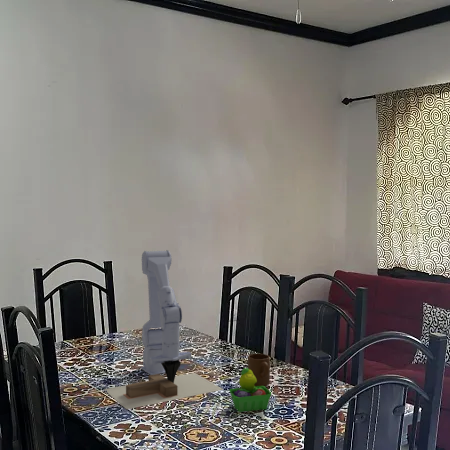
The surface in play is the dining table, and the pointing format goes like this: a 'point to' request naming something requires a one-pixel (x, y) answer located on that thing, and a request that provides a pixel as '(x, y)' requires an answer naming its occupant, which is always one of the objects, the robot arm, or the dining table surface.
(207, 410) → the dining table surface
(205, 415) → the dining table surface
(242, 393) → the fruit basket
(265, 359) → the mug
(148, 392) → the t block
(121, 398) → the mat
